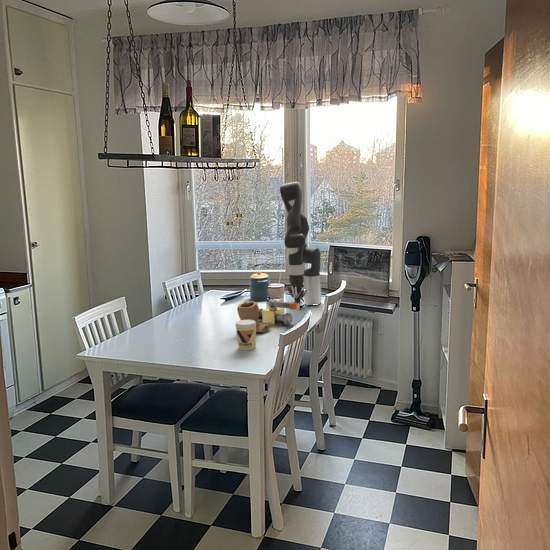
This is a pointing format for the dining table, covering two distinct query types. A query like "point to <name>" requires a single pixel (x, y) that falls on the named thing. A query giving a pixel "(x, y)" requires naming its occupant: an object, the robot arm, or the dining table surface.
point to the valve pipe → (274, 316)
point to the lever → (284, 304)
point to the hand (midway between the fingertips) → (297, 305)
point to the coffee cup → (246, 334)
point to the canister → (259, 286)
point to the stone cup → (252, 315)
